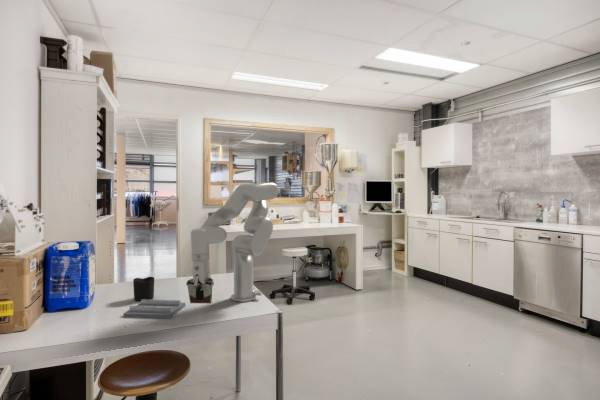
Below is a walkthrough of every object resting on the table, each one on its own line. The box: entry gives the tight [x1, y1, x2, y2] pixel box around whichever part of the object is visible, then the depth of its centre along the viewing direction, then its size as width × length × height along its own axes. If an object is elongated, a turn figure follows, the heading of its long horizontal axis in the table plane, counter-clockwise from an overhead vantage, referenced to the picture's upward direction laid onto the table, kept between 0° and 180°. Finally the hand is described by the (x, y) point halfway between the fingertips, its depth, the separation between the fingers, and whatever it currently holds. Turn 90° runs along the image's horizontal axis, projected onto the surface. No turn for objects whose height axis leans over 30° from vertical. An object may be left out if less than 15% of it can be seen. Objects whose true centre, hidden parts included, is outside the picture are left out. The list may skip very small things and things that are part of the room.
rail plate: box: [123, 298, 186, 319], centre depth 151 cm, size 20×16×4 cm
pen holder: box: [132, 276, 155, 303], centre depth 168 cm, size 9×9×10 cm
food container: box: [185, 278, 215, 305], centre depth 153 cm, size 12×6×10 cm, turn 84°
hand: (202, 296), depth 153 cm, fingers closed on food container, 5 cm apart
